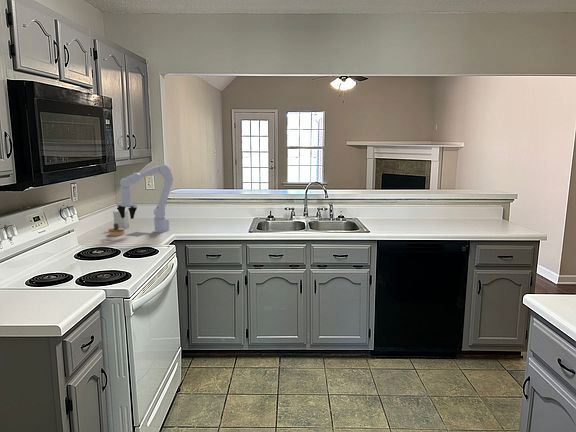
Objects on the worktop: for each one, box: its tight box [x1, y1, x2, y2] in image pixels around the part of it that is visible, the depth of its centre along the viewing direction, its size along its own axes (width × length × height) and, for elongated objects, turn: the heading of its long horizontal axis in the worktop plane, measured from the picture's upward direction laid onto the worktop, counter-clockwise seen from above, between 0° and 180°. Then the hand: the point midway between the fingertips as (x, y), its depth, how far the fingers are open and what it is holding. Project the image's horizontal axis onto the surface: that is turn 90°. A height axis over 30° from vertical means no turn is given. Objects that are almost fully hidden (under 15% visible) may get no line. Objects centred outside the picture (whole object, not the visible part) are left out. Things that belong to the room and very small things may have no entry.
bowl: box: [108, 230, 126, 237], centre depth 284 cm, size 9×9×3 cm
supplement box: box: [112, 209, 130, 230], centre depth 305 cm, size 7×7×13 cm
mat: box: [125, 231, 150, 238], centre depth 284 cm, size 11×11×1 cm
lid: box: [107, 222, 125, 233], centre depth 284 cm, size 10×10×4 cm
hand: (127, 218), depth 285 cm, fingers open, 7 cm apart
